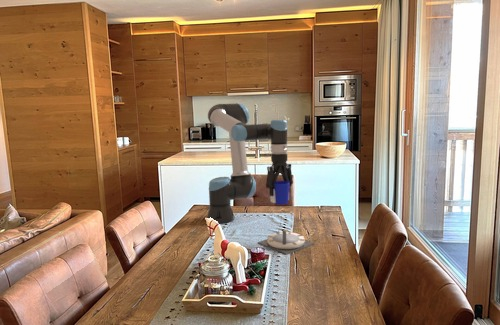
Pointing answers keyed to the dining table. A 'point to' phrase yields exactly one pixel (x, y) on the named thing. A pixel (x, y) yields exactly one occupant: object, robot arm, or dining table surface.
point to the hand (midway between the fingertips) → (279, 200)
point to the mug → (281, 192)
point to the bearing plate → (286, 251)
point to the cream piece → (285, 240)
